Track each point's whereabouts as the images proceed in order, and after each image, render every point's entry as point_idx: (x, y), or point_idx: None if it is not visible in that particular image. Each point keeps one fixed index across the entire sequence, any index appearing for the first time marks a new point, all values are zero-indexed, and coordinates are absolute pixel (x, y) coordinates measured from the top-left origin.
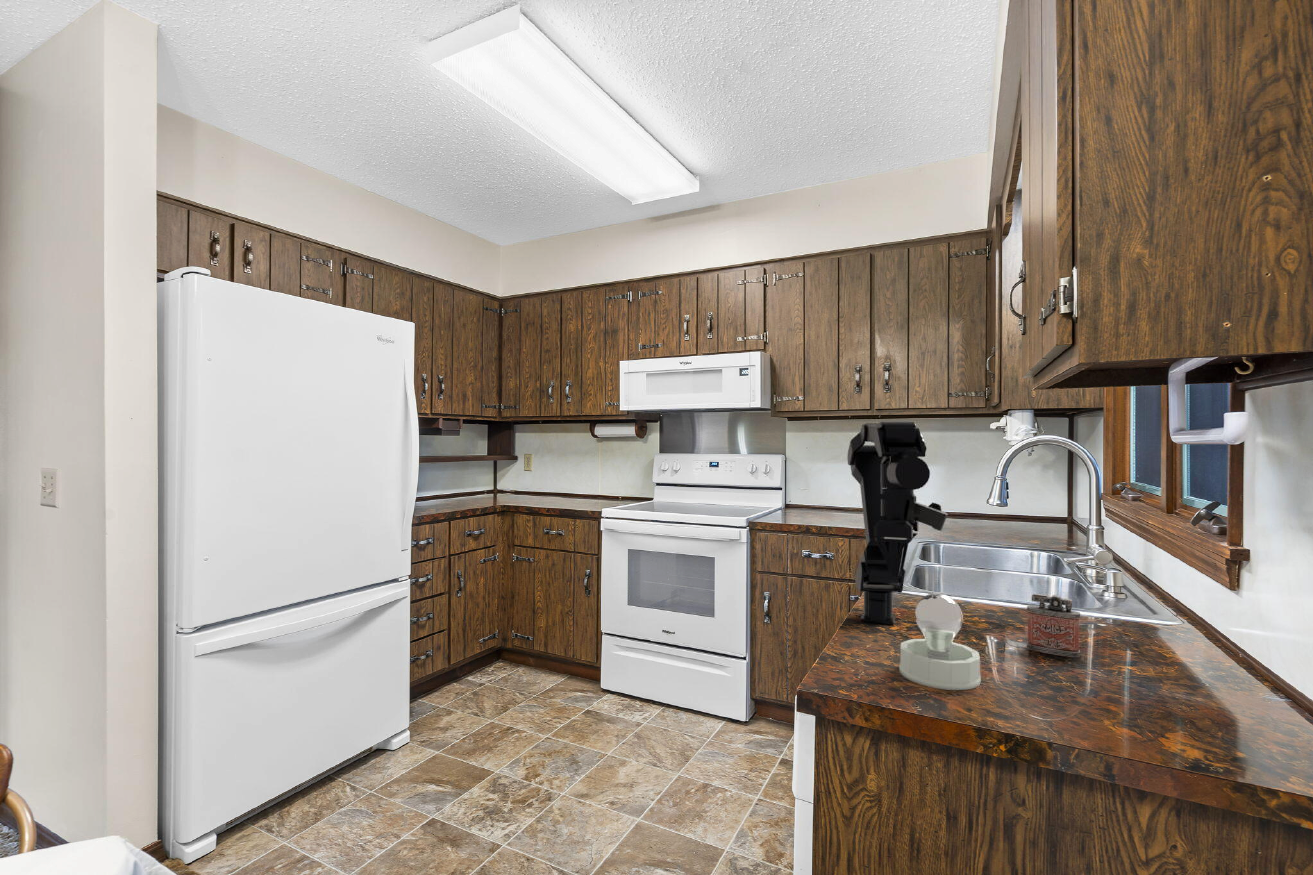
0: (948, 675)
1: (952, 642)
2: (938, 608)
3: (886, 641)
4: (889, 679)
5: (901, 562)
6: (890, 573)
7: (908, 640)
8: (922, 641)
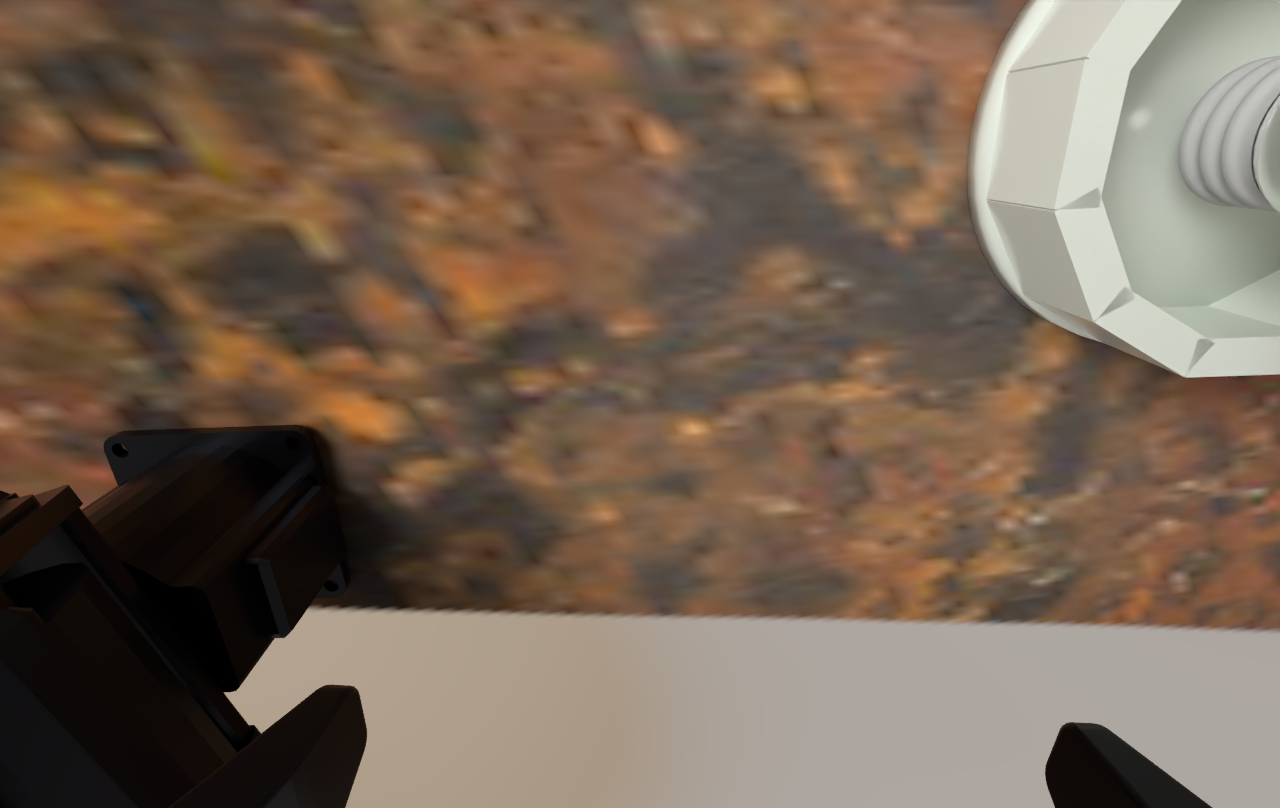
0: None
1: (1119, 23)
2: None
3: (661, 433)
4: None
5: (304, 802)
6: (93, 709)
7: (1126, 338)
8: (1112, 249)
